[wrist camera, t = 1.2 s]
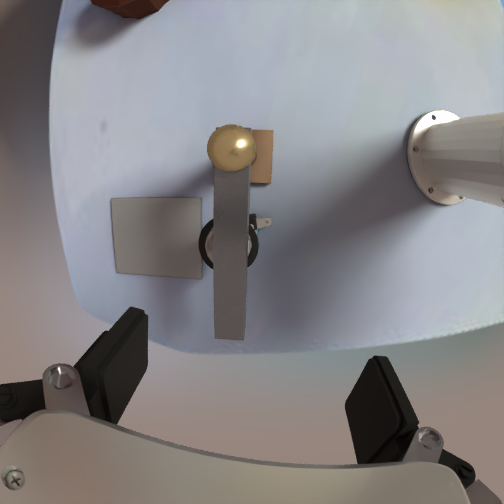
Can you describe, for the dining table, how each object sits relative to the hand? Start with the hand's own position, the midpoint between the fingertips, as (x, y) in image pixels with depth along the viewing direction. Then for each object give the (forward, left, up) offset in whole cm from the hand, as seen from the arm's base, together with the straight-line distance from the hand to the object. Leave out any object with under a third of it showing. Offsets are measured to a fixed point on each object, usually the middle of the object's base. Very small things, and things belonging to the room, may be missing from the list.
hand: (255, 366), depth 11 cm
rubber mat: (+13, +1, -24) cm, 28 cm away
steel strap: (+2, -2, -13) cm, 14 cm away
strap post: (+2, -9, -24) cm, 26 cm away
